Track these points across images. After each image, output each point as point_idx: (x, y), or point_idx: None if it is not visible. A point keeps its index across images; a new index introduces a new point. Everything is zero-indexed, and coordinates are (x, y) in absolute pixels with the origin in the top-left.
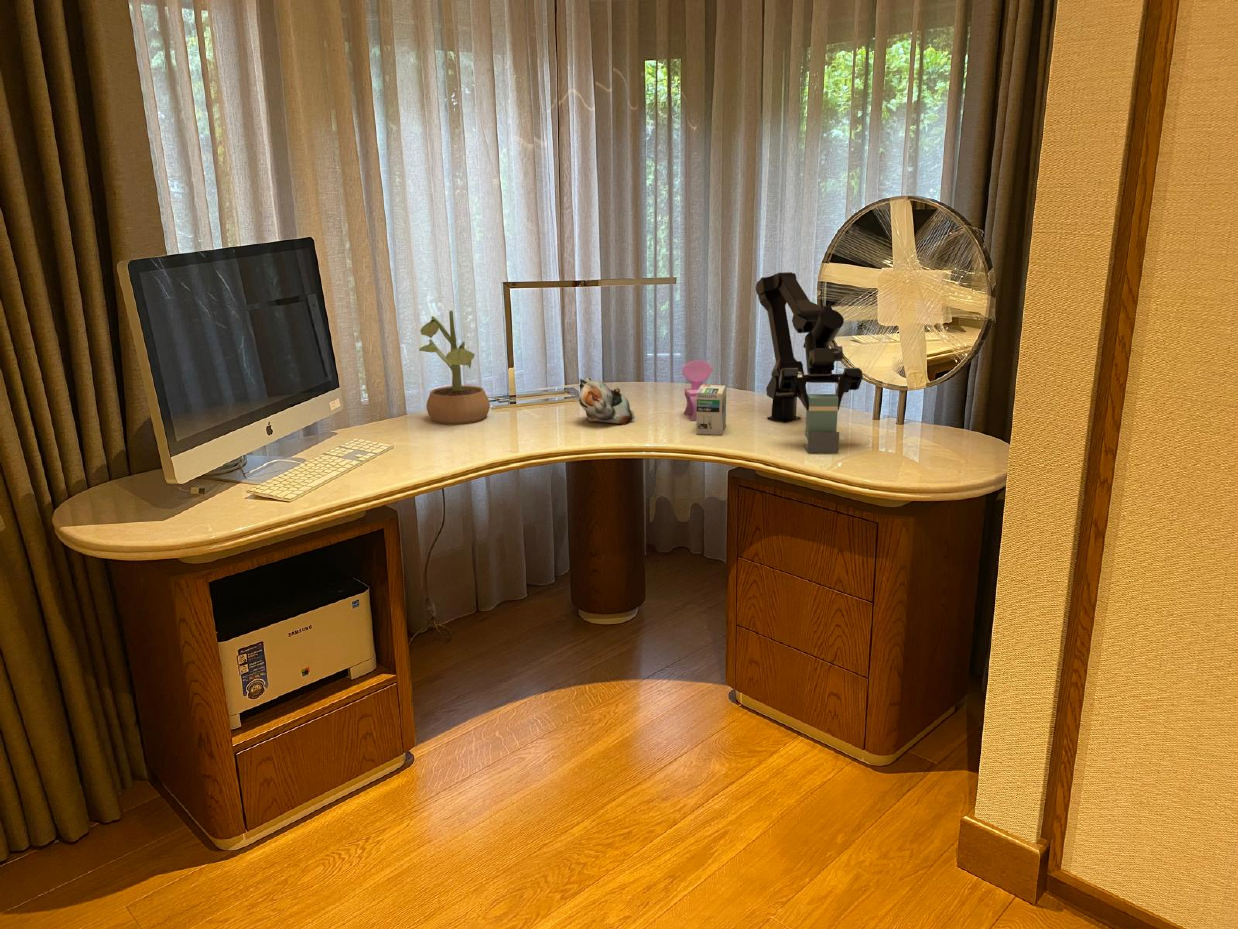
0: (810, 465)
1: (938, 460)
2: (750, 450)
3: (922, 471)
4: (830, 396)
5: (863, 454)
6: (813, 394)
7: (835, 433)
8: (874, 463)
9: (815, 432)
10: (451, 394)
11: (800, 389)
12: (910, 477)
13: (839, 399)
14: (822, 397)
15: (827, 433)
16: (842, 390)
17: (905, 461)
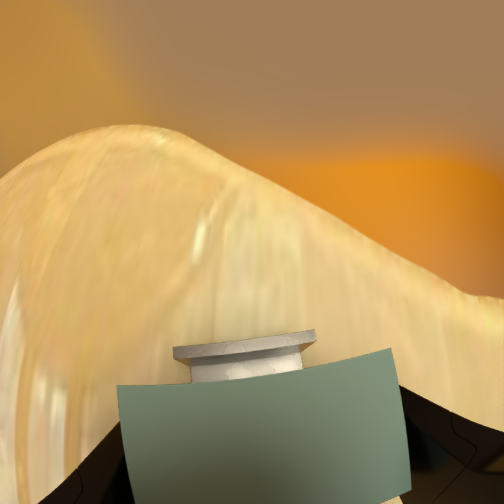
0: (282, 219)
1: None
2: (453, 339)
3: (36, 214)
4: (188, 450)
5: (112, 353)
6: (360, 500)
7: (191, 346)
8: (103, 259)
9: (283, 334)
10: None
11: (493, 430)
12: (73, 173)
13: (115, 443)
14: (274, 397)
15: (227, 342)
16: (60, 497)
17: (34, 286)
